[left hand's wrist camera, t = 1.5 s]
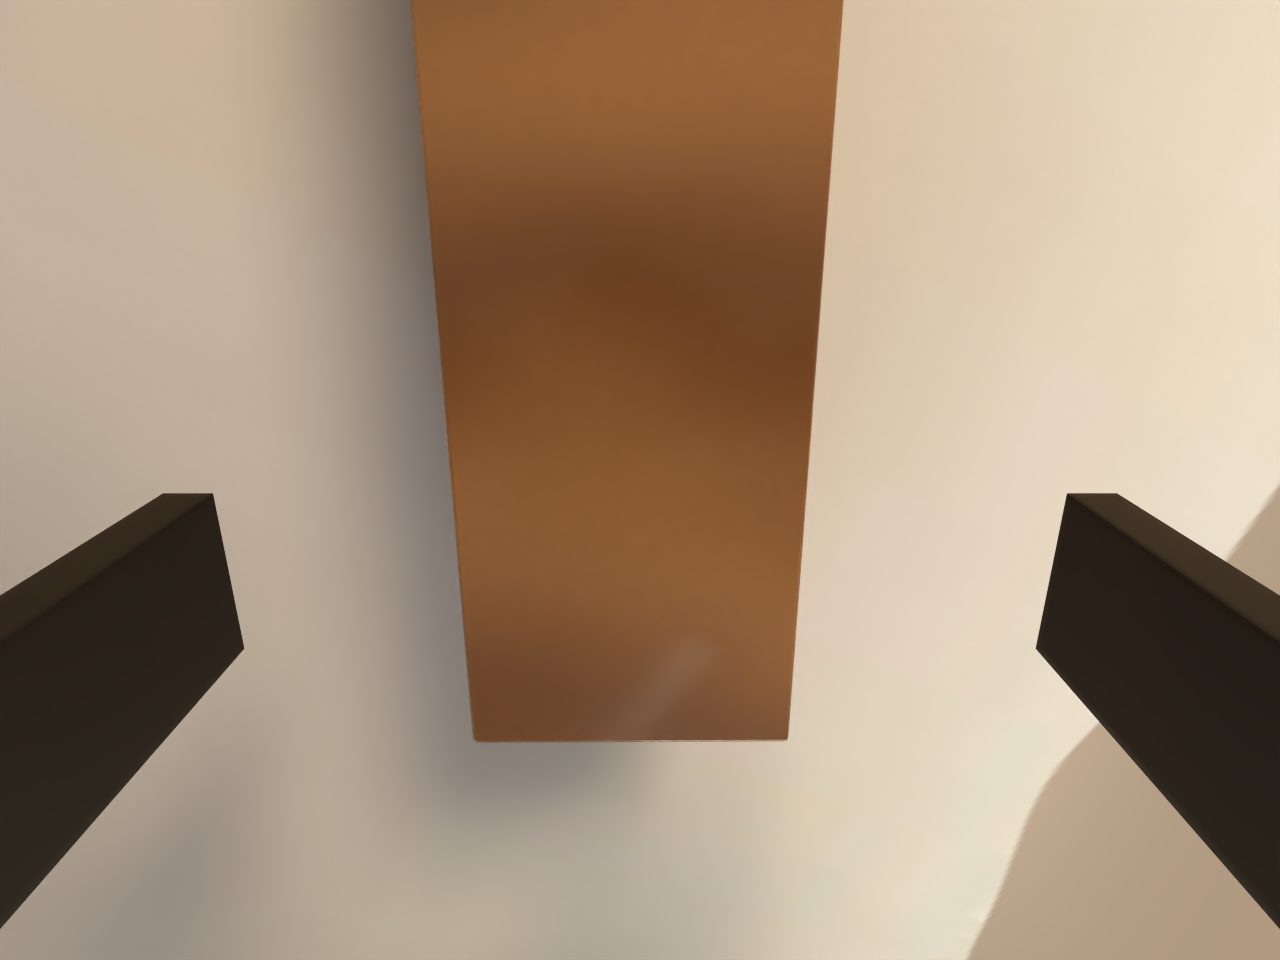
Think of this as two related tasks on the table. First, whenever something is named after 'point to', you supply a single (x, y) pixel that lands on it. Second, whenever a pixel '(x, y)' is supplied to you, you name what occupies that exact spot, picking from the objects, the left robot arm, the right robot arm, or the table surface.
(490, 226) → the bar
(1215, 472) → the table surface
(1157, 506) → the table surface
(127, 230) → the table surface
